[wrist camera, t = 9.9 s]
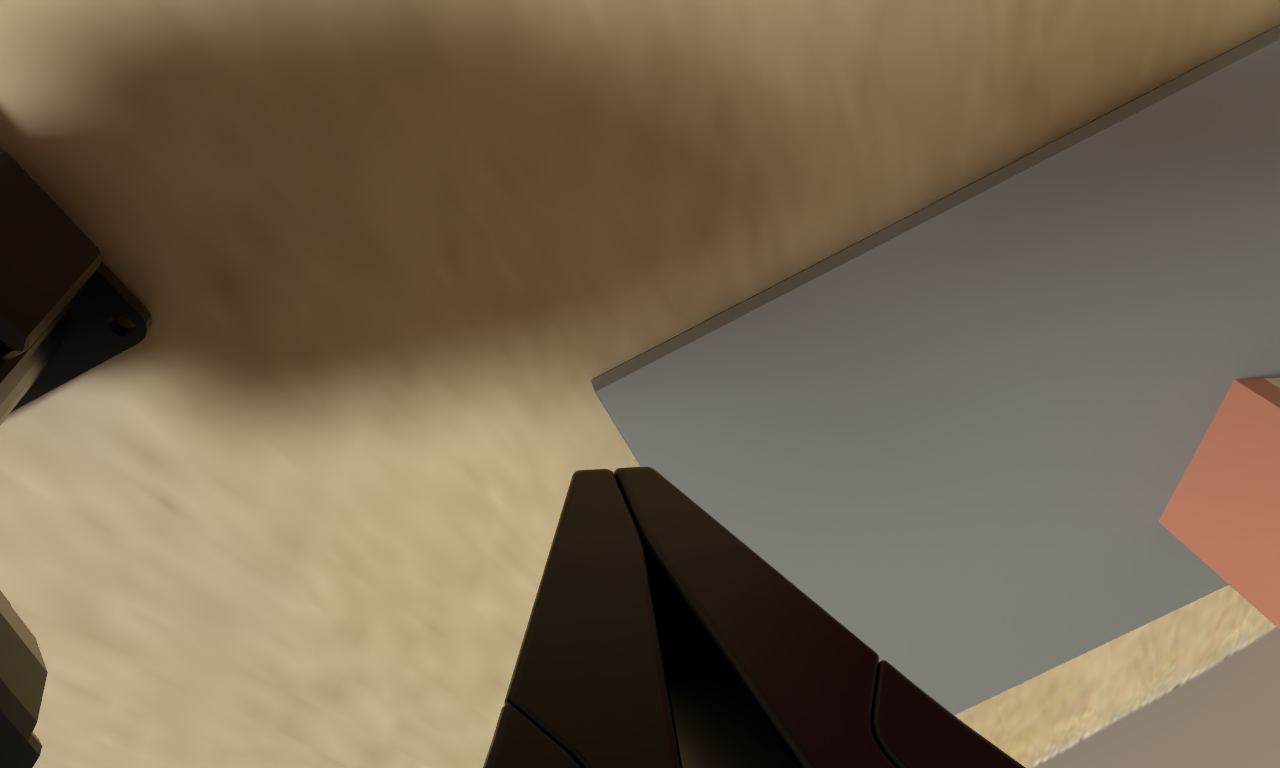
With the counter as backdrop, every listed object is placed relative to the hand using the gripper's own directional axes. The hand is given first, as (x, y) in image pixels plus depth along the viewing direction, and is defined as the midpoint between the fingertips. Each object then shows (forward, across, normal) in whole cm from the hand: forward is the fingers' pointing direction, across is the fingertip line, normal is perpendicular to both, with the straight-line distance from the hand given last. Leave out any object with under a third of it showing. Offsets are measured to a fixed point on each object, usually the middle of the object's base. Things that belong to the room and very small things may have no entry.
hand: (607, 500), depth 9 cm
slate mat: (+12, -19, +9) cm, 24 cm away
